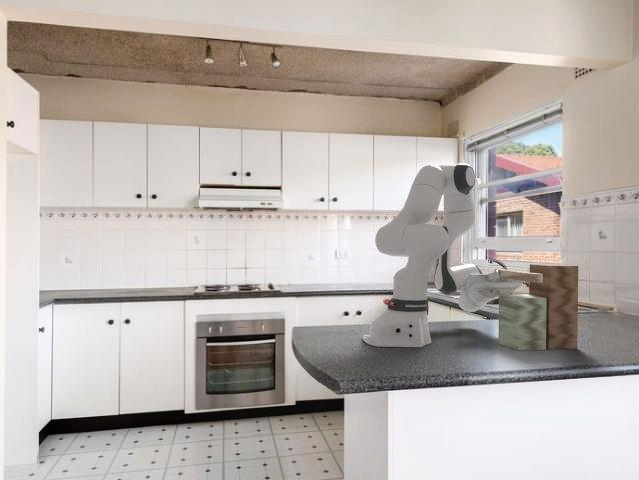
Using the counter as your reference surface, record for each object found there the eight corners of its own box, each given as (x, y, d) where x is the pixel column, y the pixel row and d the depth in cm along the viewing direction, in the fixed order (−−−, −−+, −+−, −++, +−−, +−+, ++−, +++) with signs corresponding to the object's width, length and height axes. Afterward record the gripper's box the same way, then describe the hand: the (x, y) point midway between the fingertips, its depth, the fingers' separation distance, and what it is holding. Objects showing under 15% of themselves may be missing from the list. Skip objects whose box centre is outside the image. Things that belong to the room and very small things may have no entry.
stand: (516, 350, 139) (517, 265, 139) (498, 343, 149) (499, 264, 149) (577, 348, 143) (578, 266, 143) (555, 341, 153) (556, 264, 153)
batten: (534, 282, 137) (534, 274, 137) (494, 276, 159) (494, 269, 159) (542, 282, 138) (542, 274, 137) (501, 276, 159) (501, 269, 159)
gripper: (457, 281, 167) (473, 264, 155) (507, 280, 170) (528, 264, 159) (461, 297, 164) (478, 281, 152) (512, 296, 167) (533, 280, 155)
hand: (504, 272), depth 155 cm, fingers closed on batten, 3 cm apart
